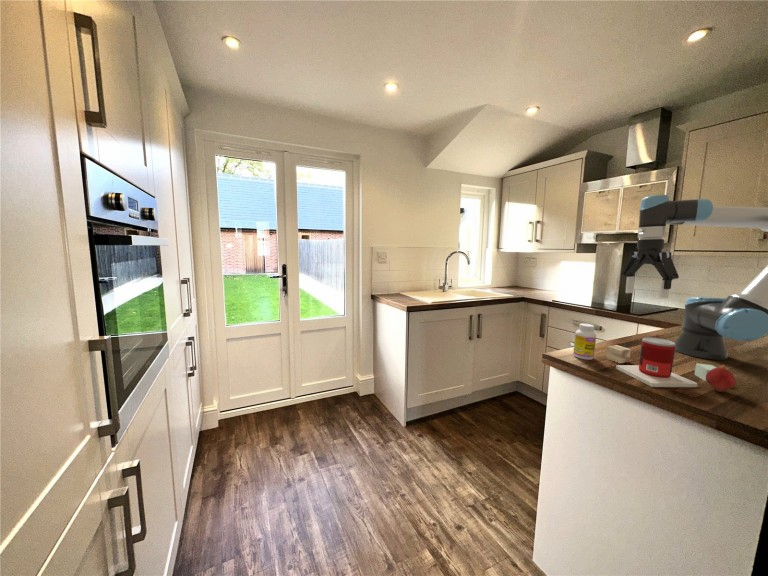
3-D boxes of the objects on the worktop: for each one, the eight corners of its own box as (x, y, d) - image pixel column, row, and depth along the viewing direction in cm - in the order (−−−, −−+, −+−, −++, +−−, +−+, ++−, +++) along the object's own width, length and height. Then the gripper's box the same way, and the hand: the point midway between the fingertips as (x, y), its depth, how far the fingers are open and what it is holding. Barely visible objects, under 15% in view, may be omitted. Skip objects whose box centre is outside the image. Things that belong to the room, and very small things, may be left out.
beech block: (615, 357, 115) (617, 345, 115) (629, 362, 111) (630, 349, 110) (605, 358, 114) (607, 346, 113) (619, 363, 109) (620, 350, 109)
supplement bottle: (583, 360, 111) (586, 327, 109) (569, 354, 118) (572, 323, 116) (598, 359, 113) (601, 326, 111) (583, 353, 119) (586, 322, 117)
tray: (655, 368, 104) (655, 365, 104) (697, 387, 91) (697, 382, 90) (615, 368, 104) (616, 364, 104) (651, 386, 90) (652, 382, 90)
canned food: (677, 379, 93) (682, 345, 91) (647, 376, 94) (652, 343, 93) (660, 369, 100) (664, 338, 99) (633, 367, 102) (636, 336, 100)
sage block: (710, 376, 99) (712, 365, 98) (722, 384, 93) (724, 372, 93) (694, 374, 100) (696, 363, 100) (705, 381, 95) (707, 369, 94)
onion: (698, 386, 91) (702, 361, 90) (715, 386, 91) (719, 361, 90) (721, 396, 85) (725, 369, 84) (739, 395, 86) (744, 369, 84)
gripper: (612, 240, 122) (608, 291, 125) (676, 237, 97) (670, 301, 100) (629, 239, 123) (625, 290, 125) (697, 237, 98) (690, 300, 101)
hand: (645, 295), depth 113 cm, fingers open, 13 cm apart
